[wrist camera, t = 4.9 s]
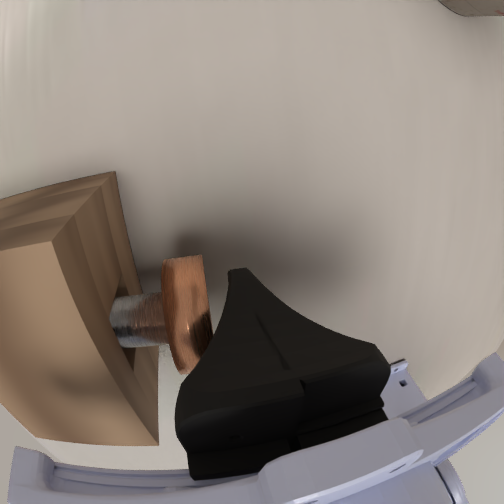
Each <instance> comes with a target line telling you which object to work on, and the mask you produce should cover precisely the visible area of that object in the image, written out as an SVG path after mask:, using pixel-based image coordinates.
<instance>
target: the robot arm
mask: <svg viewBox="0 0 504 504" xmlns="http://www.w3.org/2000/svg"><path fill="white" fill-rule="evenodd" d="M228 282H229V285H228V292H227V298H226V302H225V306H224V309H223V313H222V316H221V319H220V321H219V324H218V326H217V329H216V331H215V333H214V335H213V337H212V339H211V341H210V343H209V345H208V347H207V349H206V350H205V352H204V354H203V355H202V357H201V358H200V360H199V361H198V363H197V364H196V366H195V367H194V369H193V370H192V371H191V372H190V374H189V375H188V376H187V377H186V379H185V380H184V381H183V382H182V383H181V386H180V390H179V393H178V397H177V402H176V408H175V431H176V435H177V438H178V439H179V441H180V443H181V444H182V446H183V447H184V449H185V451H186V452H187V458H188V467H189V469H180V470H119V469H105V468H94V467H85V466H77V465H70V464H64V463H58V462H54V461H53V460H52V459H51V458H50V457H48V456H47V455H45V454H44V453H41V452H39V451H36V450H31V449H27V448H23V447H19V446H16V447H15V450H14V455H13V461H12V467H11V473H10V481H9V490H8V501H7V502H8V504H469V502H468V500H467V498H466V496H465V490H464V487H463V485H462V482H461V480H460V478H459V476H458V475H457V473H456V471H455V469H454V468H453V466H452V464H451V463H450V461H449V460H448V458H449V457H450V456H452V455H453V454H455V453H456V452H457V451H458V450H460V449H461V448H463V447H464V446H465V445H467V444H468V443H469V442H470V441H472V440H473V439H474V438H475V437H477V436H478V435H479V434H480V433H482V432H483V431H484V430H485V429H486V428H488V427H489V426H490V425H491V424H492V423H493V422H495V420H497V419H498V418H499V417H500V416H501V415H502V414H503V412H504V361H503V360H502V359H501V358H500V357H499V355H498V354H497V353H496V352H494V353H493V354H491V355H490V356H488V357H487V358H485V359H484V360H483V361H481V362H480V363H479V364H478V366H477V367H476V368H475V369H474V371H473V372H472V375H471V376H470V377H468V378H466V379H465V380H463V381H461V382H460V383H458V384H457V385H455V386H453V387H452V388H450V389H448V390H446V391H445V392H443V393H441V394H439V395H438V396H436V397H434V398H432V399H430V400H428V401H427V399H426V398H425V396H424V395H423V393H422V392H421V390H420V389H419V387H418V386H417V384H416V383H415V381H414V380H413V378H412V377H411V375H410V374H409V373H408V371H407V370H406V368H407V366H408V362H407V361H406V360H405V361H402V362H399V363H397V364H394V365H391V366H390V365H389V363H388V362H387V360H386V359H385V357H384V356H383V354H382V353H381V352H380V350H379V349H378V348H377V347H376V346H375V344H373V343H369V342H365V341H362V340H358V339H354V338H351V337H348V336H345V335H342V334H340V333H337V332H334V331H332V330H330V329H327V328H325V327H323V326H321V325H319V324H317V323H315V322H313V321H311V320H309V319H307V318H306V317H304V316H302V315H301V314H299V313H298V312H296V311H294V310H293V309H291V308H290V307H289V306H287V305H286V304H285V303H283V302H282V301H281V300H280V299H278V298H277V297H276V296H275V295H274V294H273V293H272V292H270V291H269V290H268V289H267V288H266V287H265V286H264V285H263V284H262V283H261V282H260V281H259V280H258V279H257V278H256V277H255V276H254V275H253V274H252V273H251V272H250V270H248V269H247V268H240V269H233V270H230V271H229V272H228Z"/></svg>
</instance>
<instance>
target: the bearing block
mask: <svg viewBox="0 0 504 504" xmlns="http://www.w3.org/2000/svg"><path fill="white" fill-rule="evenodd" d="M140 294H143V293H142V289H141V286H140V282H139V279H138V275H137V271H136V267H135V264H134V260H133V256H132V252H131V248H130V243H129V239H128V235H127V230H126V226H125V221H124V216H123V212H122V207H121V201H120V196H119V191H118V185H117V179H116V173H115V171H114V172H108V173H103V174H98V175H93V176H89V177H84V178H79V179H75V180H71V181H66V182H62V183H58V184H54V185H50V186H46V187H42V188H39V189H35V190H31V191H28V192H24V193H21V194H17V195H14V196H11V197H7V198H4V199H1V200H0V403H1V404H2V405H3V406H4V407H5V408H6V409H7V410H8V411H9V412H10V413H11V414H12V415H13V416H14V417H15V418H16V419H17V420H18V421H19V422H20V423H21V424H22V425H23V426H24V427H25V428H26V429H27V430H28V431H29V432H30V433H32V434H33V435H34V436H35V437H37V438H43V439H49V440H56V441H64V442H72V443H82V444H94V445H112V446H159V432H158V355H159V345H155V346H144V347H132V348H121V346H120V343H119V341H118V339H117V337H116V334H115V332H114V330H113V328H112V325H111V323H110V320H109V316H110V312H111V308H112V305H113V301H114V298H115V297H123V296H132V295H140Z"/></svg>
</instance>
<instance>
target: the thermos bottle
mask: <svg viewBox="0 0 504 504" xmlns="http://www.w3.org/2000/svg"><path fill="white" fill-rule="evenodd" d="M439 1H440V2H441V3H443V4H444V5H445V6H447V7H448V8H449V9H450V10H452V11H454V12H456V13H458V14H460V15H463V16H504V0H439Z"/></svg>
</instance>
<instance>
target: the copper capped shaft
mask: <svg viewBox="0 0 504 504" xmlns="http://www.w3.org/2000/svg"><path fill="white" fill-rule="evenodd" d="M161 290H162V292H158V293H149V294H140V295H132V296H123V297H115V298H114V301H113V305H112V308H111V312H110V316H109V320H110V323H111V325H112V328H113V330H114V332H115V334H116V337H117V339H118V341H119V343H120V346H121V348H132V347H144V346H155V345H165V344H169V346H170V350H171V353H172V357H173V360H174V363H175V366H176V368H177V370H178V372H179V373H180V374H181V375H182V374H190V372H191V371H192V370H193V369H194V367H195V366H196V364H197V363H198V361H199V360H200V358H201V357H202V355H203V354H204V352H205V350H206V349H207V347H208V345H209V343H210V341H211V339H212V337H213V335H214V334H213V327H212V321H211V314H210V308H209V301H208V294H207V287H206V280H205V273H204V266H203V259H202V255H194V256H187V257H179V258H171V259H165V260H164V261H163V264H162V272H161Z"/></svg>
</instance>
